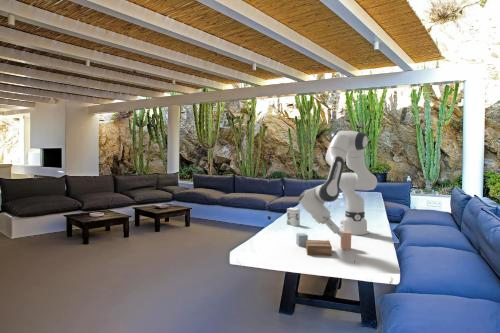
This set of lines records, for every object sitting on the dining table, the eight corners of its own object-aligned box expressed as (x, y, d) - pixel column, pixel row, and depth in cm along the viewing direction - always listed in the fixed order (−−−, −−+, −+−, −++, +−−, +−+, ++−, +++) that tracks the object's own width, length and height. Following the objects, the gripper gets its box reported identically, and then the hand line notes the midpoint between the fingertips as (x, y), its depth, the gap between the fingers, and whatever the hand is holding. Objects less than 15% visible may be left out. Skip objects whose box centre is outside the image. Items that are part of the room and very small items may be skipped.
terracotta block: (340, 247, 187) (340, 231, 187) (348, 247, 187) (349, 231, 187) (342, 249, 183) (342, 232, 182) (350, 249, 182) (351, 233, 182)
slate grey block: (296, 243, 193) (296, 233, 192) (304, 243, 193) (305, 233, 193) (298, 246, 188) (299, 235, 188) (307, 246, 188) (307, 235, 188)
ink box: (300, 225, 242) (300, 209, 241) (294, 226, 239) (295, 209, 238) (291, 223, 248) (291, 207, 248) (286, 224, 245) (286, 207, 245)
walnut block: (306, 248, 184) (306, 239, 184) (328, 250, 183) (328, 240, 182) (307, 255, 172) (307, 245, 172) (331, 256, 171) (331, 246, 171)
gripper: (330, 215, 174) (349, 234, 174) (323, 208, 194) (340, 226, 195) (321, 223, 174) (340, 243, 174) (315, 216, 195) (331, 233, 195)
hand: (340, 234), depth 185 cm, fingers open, 8 cm apart
